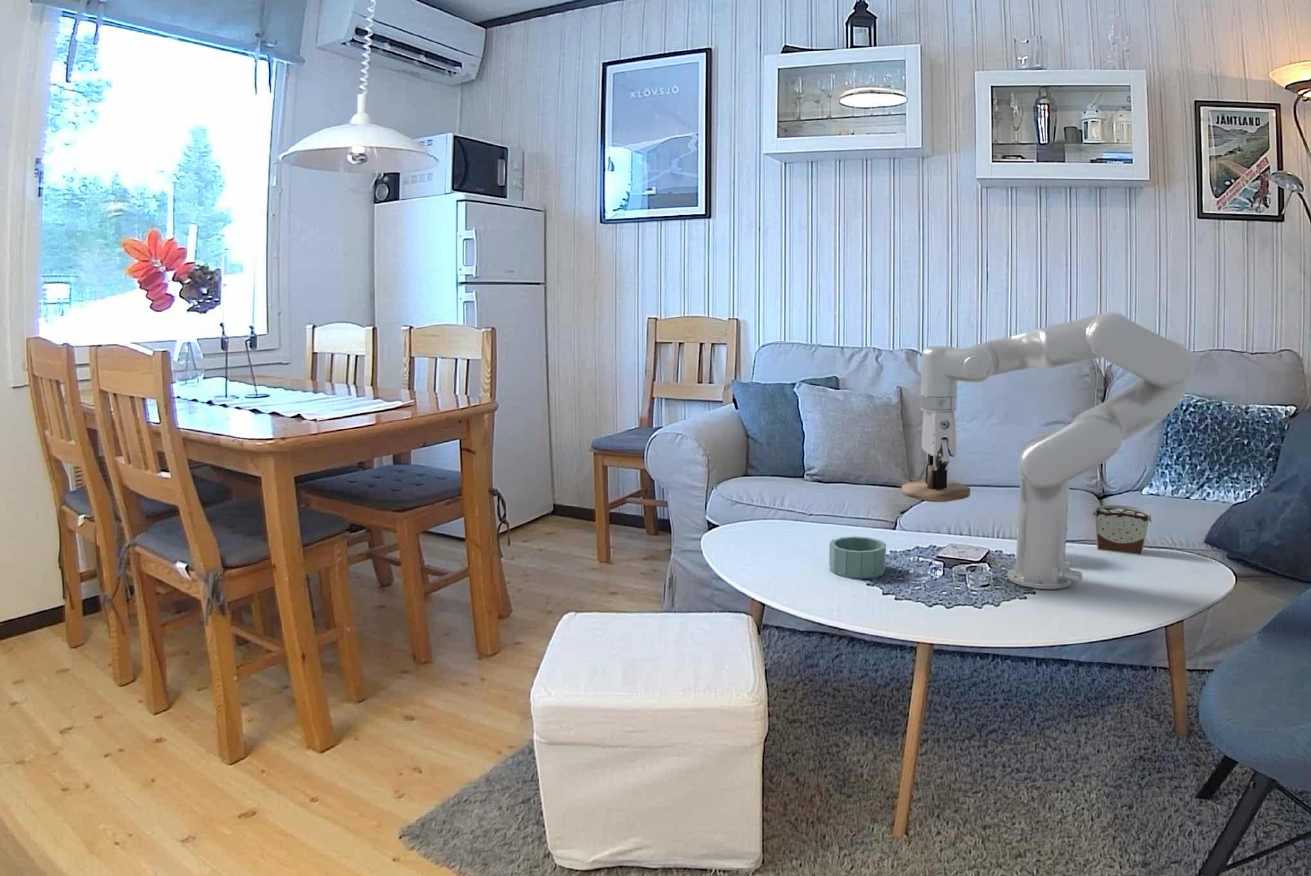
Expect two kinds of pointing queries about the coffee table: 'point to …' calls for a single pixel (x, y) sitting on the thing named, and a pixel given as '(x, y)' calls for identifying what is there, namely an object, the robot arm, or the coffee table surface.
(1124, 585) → the coffee table surface
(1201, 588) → the coffee table surface
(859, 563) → the bowl
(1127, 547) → the food container
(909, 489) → the lid
